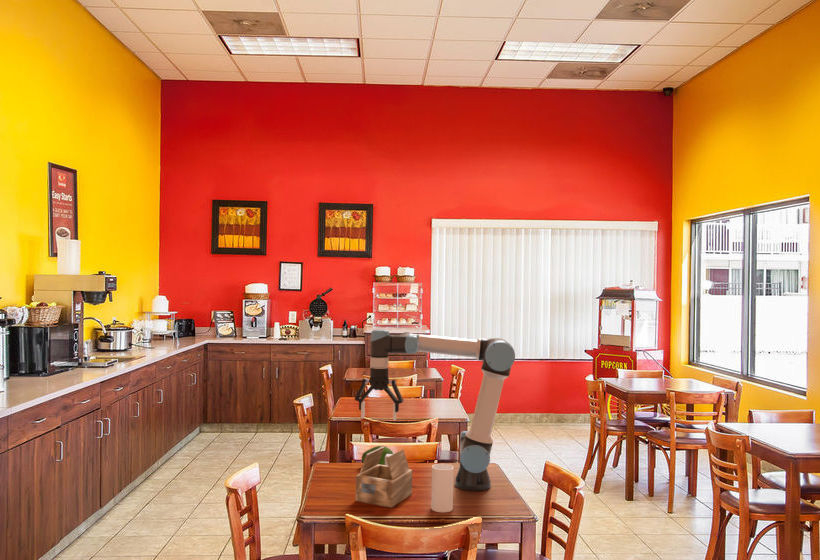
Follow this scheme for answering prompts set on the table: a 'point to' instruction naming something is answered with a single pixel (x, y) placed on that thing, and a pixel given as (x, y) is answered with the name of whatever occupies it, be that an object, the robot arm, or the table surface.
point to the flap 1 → (372, 459)
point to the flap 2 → (397, 463)
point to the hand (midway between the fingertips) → (378, 419)
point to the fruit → (382, 459)
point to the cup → (442, 488)
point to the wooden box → (383, 486)
